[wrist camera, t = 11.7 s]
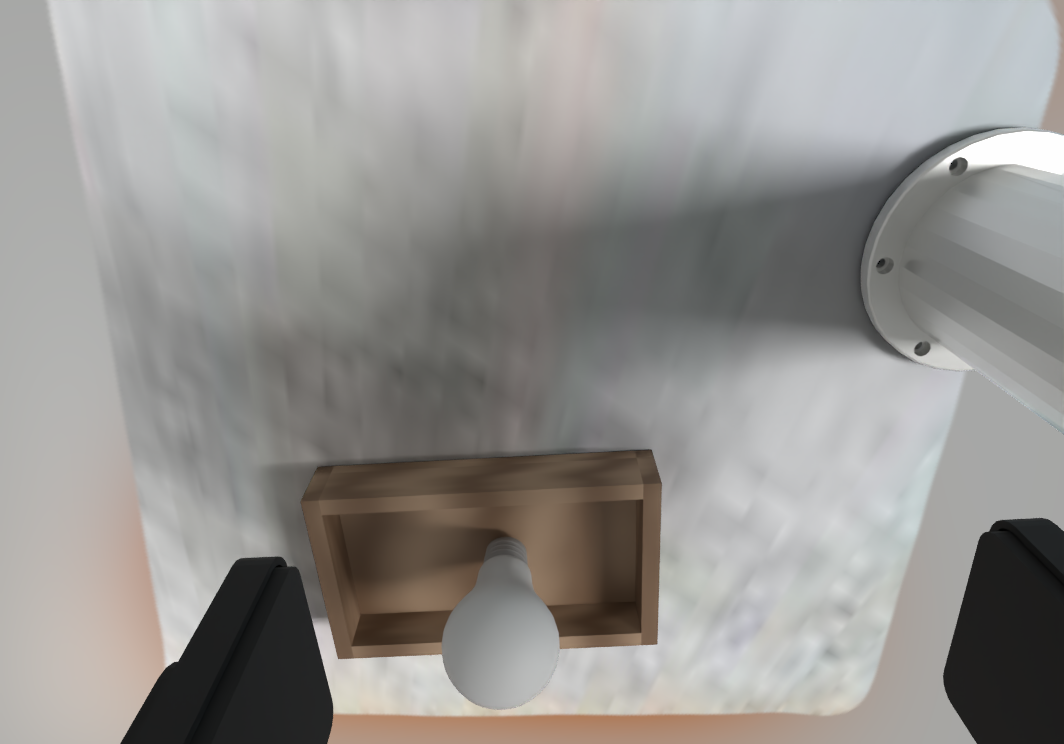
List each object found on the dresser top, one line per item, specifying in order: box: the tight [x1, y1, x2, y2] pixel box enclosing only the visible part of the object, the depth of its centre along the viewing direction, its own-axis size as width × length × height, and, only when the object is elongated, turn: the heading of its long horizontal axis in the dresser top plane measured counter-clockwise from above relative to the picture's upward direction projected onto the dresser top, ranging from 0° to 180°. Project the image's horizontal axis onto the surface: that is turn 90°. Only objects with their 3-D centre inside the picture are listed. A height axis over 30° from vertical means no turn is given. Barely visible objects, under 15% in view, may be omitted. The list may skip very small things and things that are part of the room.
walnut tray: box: [301, 450, 662, 659], centre depth 43 cm, size 20×12×4 cm, turn 93°
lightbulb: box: [441, 537, 560, 710], centre depth 39 cm, size 6×6×11 cm
